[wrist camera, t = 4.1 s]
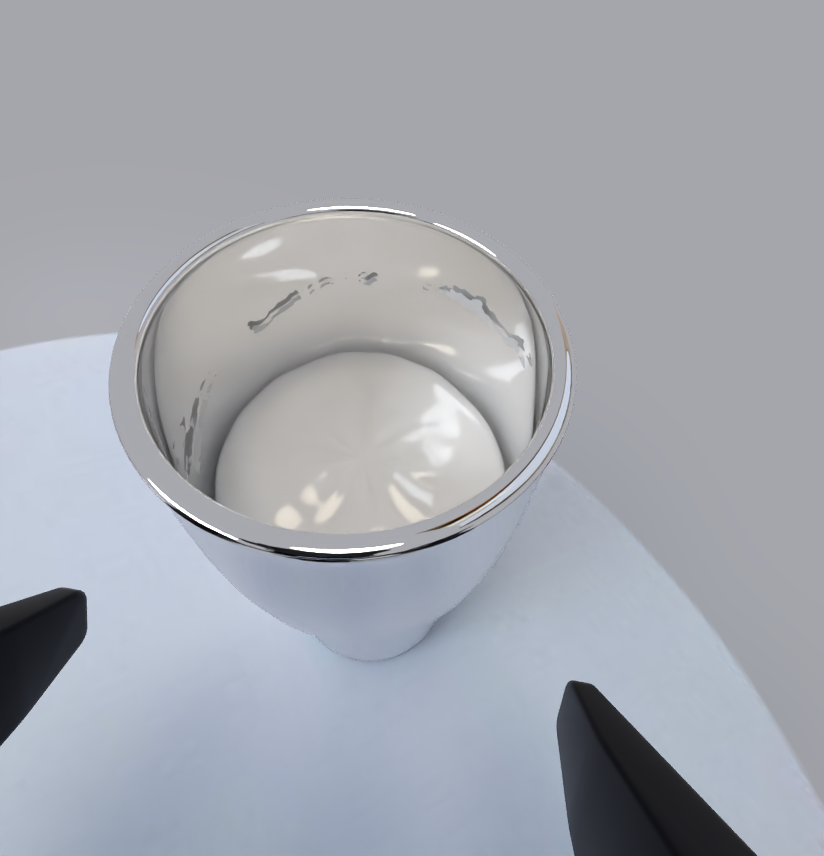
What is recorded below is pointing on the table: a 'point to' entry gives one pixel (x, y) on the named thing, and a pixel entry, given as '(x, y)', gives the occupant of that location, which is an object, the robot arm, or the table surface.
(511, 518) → the silver metal cup
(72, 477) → the table surface
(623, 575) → the table surface
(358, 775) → the table surface
